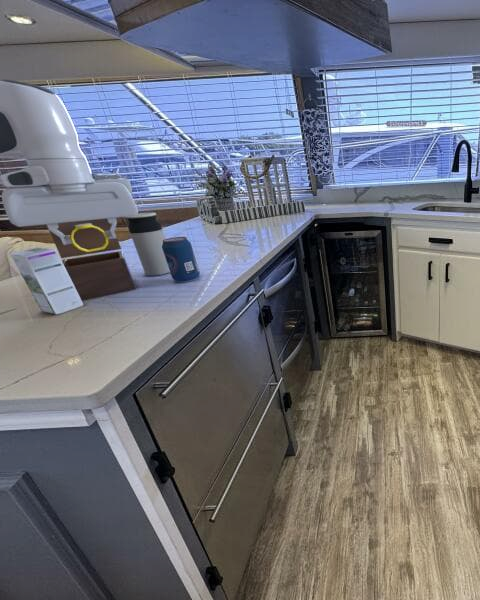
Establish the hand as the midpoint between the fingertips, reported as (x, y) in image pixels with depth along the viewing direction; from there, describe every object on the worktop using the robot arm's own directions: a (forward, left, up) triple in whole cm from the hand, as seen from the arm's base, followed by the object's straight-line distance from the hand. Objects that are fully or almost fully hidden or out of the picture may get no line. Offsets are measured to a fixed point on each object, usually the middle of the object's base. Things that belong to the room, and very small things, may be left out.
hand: (90, 241), depth 72 cm
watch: (0, 0, -2) cm, 2 cm away
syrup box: (-10, +7, -16) cm, 20 cm away
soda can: (+16, +10, -16) cm, 25 cm away
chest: (-2, +17, -16) cm, 24 cm away
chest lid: (-2, +24, 0) cm, 24 cm away
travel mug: (+11, +25, -16) cm, 32 cm away
